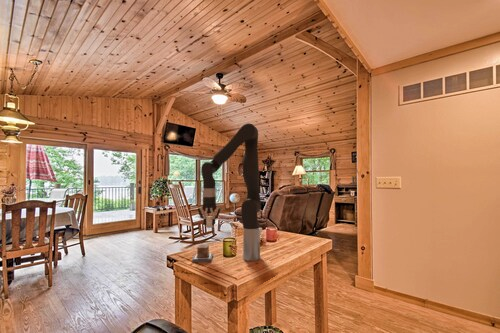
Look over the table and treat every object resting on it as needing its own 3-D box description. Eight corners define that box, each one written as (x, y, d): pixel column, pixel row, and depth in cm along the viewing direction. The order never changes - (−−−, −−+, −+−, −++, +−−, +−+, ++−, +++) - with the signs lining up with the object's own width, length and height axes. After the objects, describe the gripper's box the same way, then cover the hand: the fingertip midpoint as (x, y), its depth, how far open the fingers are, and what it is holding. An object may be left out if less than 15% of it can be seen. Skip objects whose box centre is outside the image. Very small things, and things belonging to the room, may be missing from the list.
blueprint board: (213, 255, 141) (213, 252, 141) (210, 261, 131) (210, 258, 131) (195, 255, 141) (195, 253, 141) (192, 262, 131) (192, 259, 131)
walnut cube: (208, 254, 139) (208, 244, 139) (207, 257, 134) (207, 247, 134) (199, 254, 139) (199, 244, 139) (197, 257, 133) (197, 247, 133)
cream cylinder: (213, 226, 145) (213, 216, 145) (212, 227, 141) (212, 217, 141) (206, 226, 145) (206, 216, 145) (205, 227, 141) (205, 217, 141)
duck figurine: (251, 247, 164) (258, 235, 159) (245, 238, 169) (252, 227, 164) (264, 243, 172) (271, 232, 167) (258, 235, 177) (265, 224, 172)
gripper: (222, 195, 148) (222, 223, 147) (198, 195, 147) (198, 224, 147) (220, 196, 140) (221, 226, 140) (195, 196, 140) (195, 226, 139)
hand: (209, 225), depth 143 cm, fingers closed on cream cylinder, 4 cm apart
